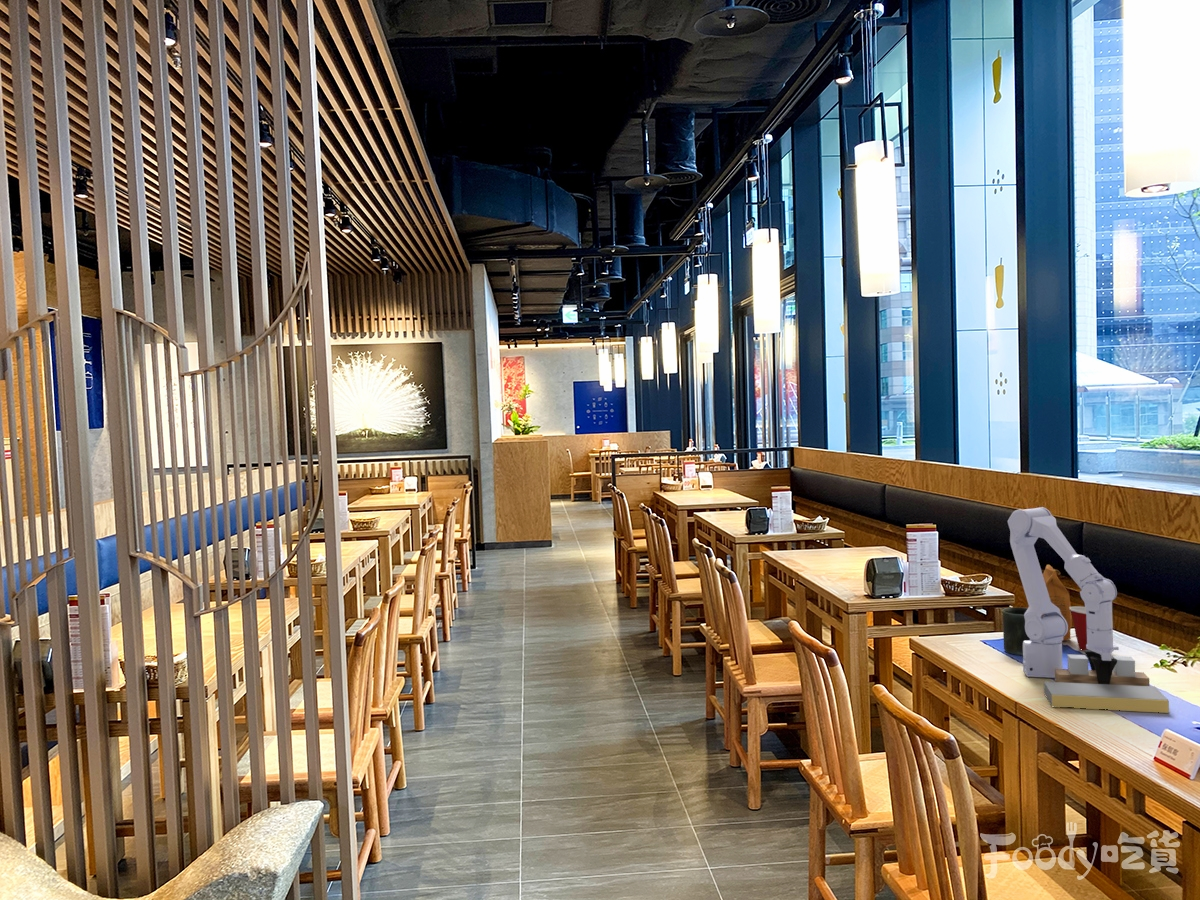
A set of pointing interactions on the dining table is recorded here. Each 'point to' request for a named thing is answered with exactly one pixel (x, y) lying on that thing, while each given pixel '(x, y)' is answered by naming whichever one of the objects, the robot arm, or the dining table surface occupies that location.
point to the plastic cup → (1080, 625)
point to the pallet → (1066, 677)
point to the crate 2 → (1124, 666)
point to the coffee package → (1058, 595)
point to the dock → (1106, 697)
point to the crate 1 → (1077, 664)
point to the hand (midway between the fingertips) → (1101, 682)
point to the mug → (1014, 629)
